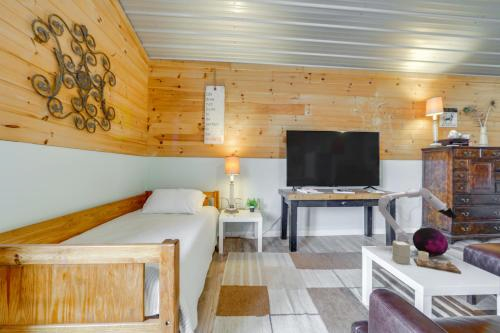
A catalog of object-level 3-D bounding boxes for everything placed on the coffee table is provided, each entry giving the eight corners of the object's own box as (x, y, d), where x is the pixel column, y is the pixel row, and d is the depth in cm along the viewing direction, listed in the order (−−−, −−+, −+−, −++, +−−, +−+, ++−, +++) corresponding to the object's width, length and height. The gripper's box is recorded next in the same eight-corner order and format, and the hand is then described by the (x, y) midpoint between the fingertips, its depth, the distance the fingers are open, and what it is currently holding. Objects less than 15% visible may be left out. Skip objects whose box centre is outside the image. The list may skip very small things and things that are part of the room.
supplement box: (403, 260, 149) (403, 241, 149) (410, 264, 142) (410, 245, 142) (391, 259, 150) (392, 240, 150) (398, 264, 142) (398, 244, 143)
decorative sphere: (408, 249, 172) (408, 223, 172) (439, 252, 165) (439, 226, 166) (418, 258, 153) (419, 229, 153) (454, 263, 146) (455, 233, 147)
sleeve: (419, 262, 142) (419, 253, 142) (417, 259, 146) (417, 250, 147) (429, 264, 140) (429, 254, 140) (426, 261, 144) (427, 252, 144)
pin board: (417, 266, 140) (417, 259, 140) (413, 260, 150) (413, 253, 150) (461, 274, 131) (461, 266, 131) (453, 267, 140) (453, 259, 140)
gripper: (443, 198, 146) (463, 215, 141) (437, 197, 159) (454, 212, 154) (434, 205, 148) (452, 221, 143) (428, 204, 161) (445, 219, 155)
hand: (453, 217), depth 148 cm, fingers open, 7 cm apart
